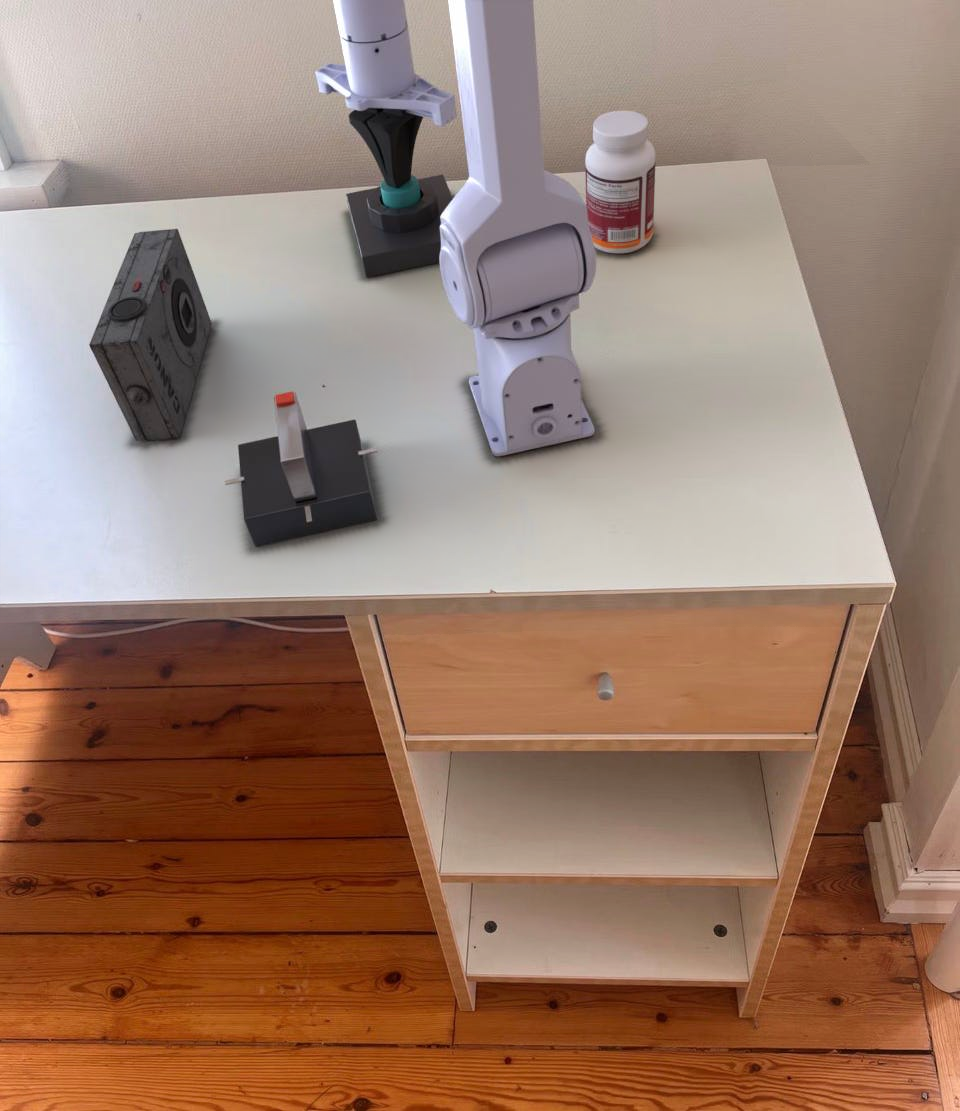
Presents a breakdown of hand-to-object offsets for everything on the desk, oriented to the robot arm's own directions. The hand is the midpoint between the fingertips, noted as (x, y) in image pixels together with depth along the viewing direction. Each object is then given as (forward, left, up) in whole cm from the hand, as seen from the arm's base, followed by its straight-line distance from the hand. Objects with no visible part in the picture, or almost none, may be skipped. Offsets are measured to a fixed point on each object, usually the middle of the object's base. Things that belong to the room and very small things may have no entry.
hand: (399, 182), depth 91 cm
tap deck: (-33, +13, -5) cm, 36 cm away
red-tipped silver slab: (-33, +13, -2) cm, 36 cm away
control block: (0, 0, -5) cm, 5 cm away
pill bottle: (-8, -19, -6) cm, 21 cm away
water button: (0, 0, -2) cm, 2 cm away
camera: (-16, +23, -6) cm, 29 cm away
